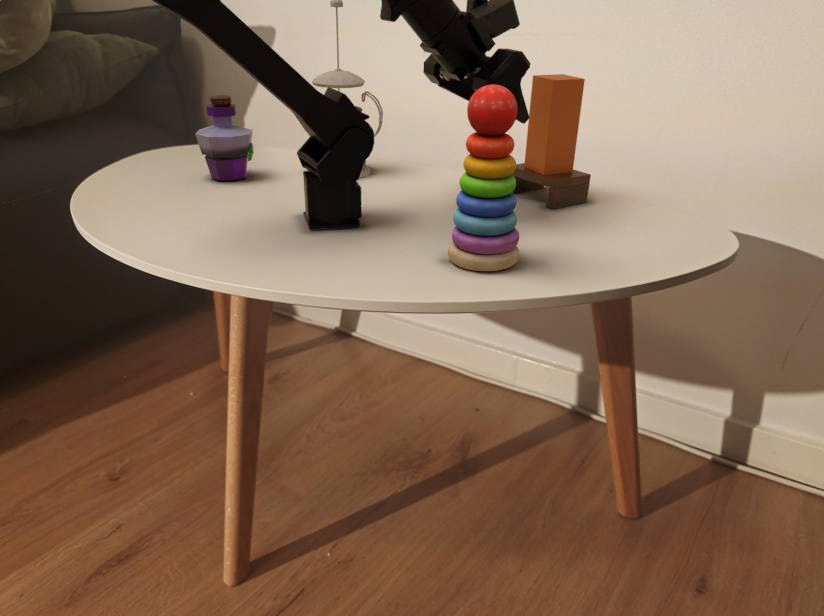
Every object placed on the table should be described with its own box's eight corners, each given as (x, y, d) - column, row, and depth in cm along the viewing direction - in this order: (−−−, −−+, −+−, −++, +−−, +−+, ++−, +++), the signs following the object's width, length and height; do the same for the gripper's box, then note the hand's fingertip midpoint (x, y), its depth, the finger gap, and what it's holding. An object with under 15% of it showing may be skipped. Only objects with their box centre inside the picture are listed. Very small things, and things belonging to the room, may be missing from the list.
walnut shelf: (552, 209, 97) (555, 180, 95) (504, 192, 104) (506, 165, 102) (587, 202, 101) (591, 174, 99) (538, 186, 108) (541, 160, 106)
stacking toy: (443, 249, 82) (450, 78, 73) (509, 248, 83) (525, 79, 74) (452, 274, 75) (462, 89, 66) (525, 273, 76) (544, 90, 67)
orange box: (543, 175, 98) (554, 80, 92) (524, 167, 102) (532, 75, 96) (572, 172, 100) (585, 78, 94) (552, 164, 104) (562, 74, 98)
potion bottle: (264, 181, 107) (257, 98, 101) (206, 187, 103) (196, 101, 97) (249, 168, 113) (242, 90, 108) (195, 173, 110) (184, 92, 104)
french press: (319, 162, 118) (312, -4, 106) (387, 166, 117) (387, -2, 105) (303, 177, 109) (293, -3, 97) (376, 181, 108) (375, 0, 96)
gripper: (525, -29, 76) (591, 77, 86) (448, -31, 91) (512, 59, 101) (456, 50, 77) (529, 146, 87) (391, 35, 92) (460, 119, 101)
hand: (507, 114), depth 94 cm, fingers open, 9 cm apart
